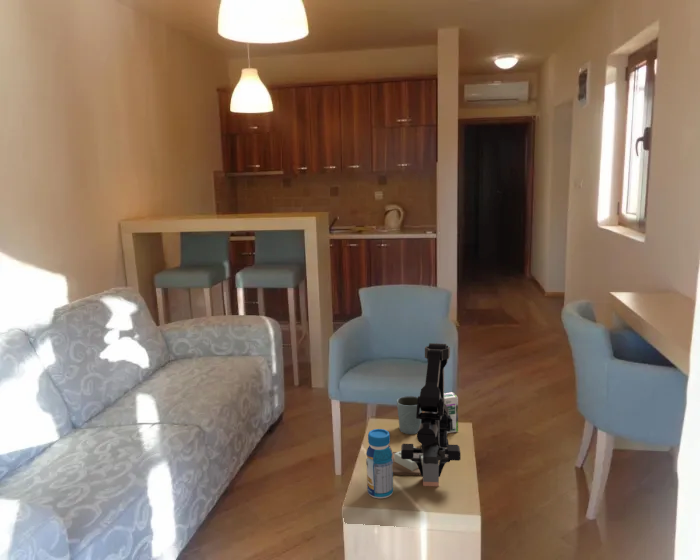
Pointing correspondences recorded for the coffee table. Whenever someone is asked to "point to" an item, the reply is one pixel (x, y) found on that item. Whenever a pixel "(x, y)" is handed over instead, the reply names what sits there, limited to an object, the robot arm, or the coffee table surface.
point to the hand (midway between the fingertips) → (430, 476)
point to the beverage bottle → (379, 464)
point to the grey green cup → (408, 414)
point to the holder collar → (406, 461)
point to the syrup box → (452, 409)
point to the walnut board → (403, 469)
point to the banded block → (430, 474)
